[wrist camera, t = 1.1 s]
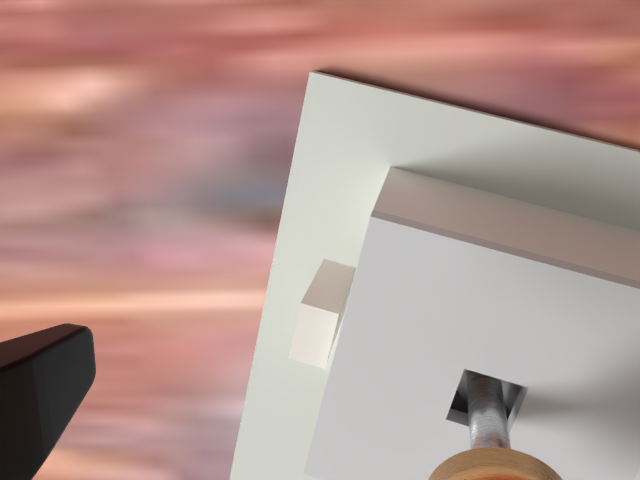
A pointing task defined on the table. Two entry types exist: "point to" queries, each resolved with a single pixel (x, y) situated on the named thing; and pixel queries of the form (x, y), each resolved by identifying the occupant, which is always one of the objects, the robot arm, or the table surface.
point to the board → (355, 210)
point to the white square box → (475, 335)
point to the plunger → (489, 435)
